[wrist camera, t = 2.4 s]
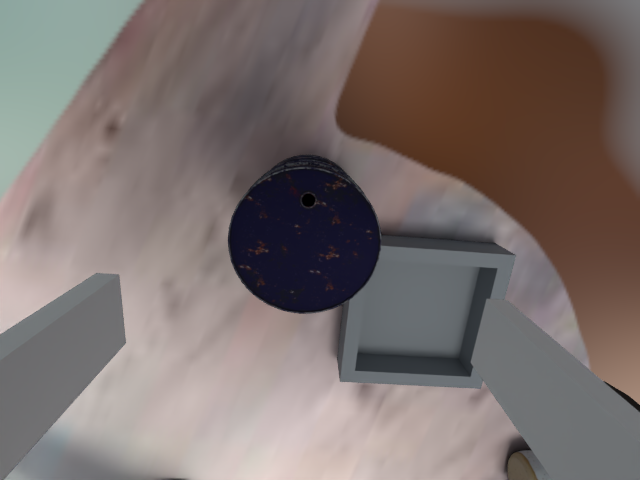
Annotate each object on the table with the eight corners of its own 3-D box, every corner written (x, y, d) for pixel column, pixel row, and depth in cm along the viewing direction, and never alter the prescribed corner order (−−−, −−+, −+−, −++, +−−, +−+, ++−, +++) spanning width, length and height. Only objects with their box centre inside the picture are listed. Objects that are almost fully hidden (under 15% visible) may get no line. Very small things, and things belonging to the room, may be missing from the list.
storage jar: (348, 249, 37) (372, 320, 23) (258, 243, 37) (225, 311, 22) (359, 157, 34) (393, 171, 20) (261, 149, 34) (226, 157, 20)
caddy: (337, 358, 41) (339, 381, 37) (351, 232, 37) (356, 243, 33) (465, 365, 42) (480, 388, 38) (494, 243, 37) (516, 255, 34)
